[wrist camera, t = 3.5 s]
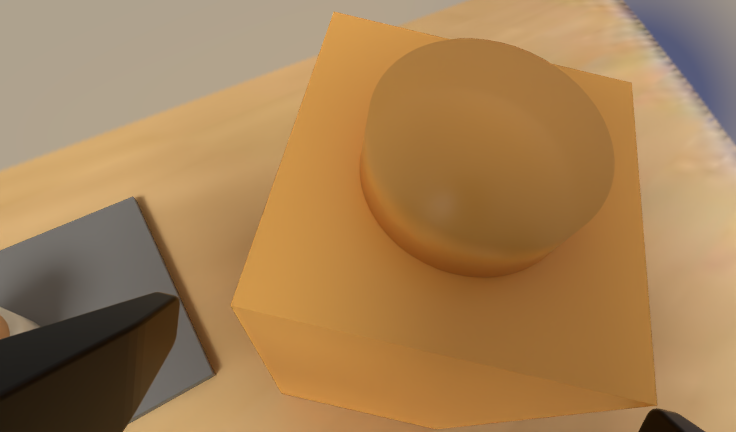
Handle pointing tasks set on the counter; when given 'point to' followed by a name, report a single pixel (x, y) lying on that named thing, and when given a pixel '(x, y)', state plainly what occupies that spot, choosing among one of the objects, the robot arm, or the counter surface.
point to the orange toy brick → (453, 236)
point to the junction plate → (98, 287)
